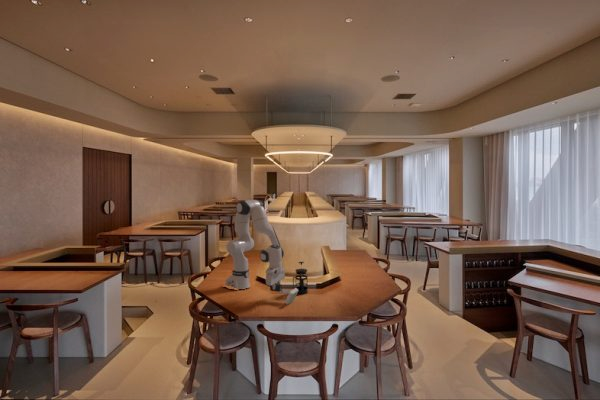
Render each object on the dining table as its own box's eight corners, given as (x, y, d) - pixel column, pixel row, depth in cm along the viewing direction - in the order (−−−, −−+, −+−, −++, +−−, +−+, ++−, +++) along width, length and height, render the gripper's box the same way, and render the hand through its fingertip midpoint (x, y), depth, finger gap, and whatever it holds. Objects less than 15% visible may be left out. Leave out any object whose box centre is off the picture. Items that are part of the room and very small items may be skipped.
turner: (269, 291, 216) (268, 285, 216) (273, 288, 221) (273, 283, 221) (288, 294, 209) (287, 288, 209) (292, 291, 215) (292, 285, 214)
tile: (284, 302, 209) (289, 291, 207) (290, 298, 217) (295, 287, 215) (287, 305, 208) (292, 294, 206) (293, 300, 216) (298, 290, 214)
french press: (307, 290, 238) (307, 260, 237) (309, 294, 228) (309, 263, 227) (292, 291, 236) (291, 261, 235) (294, 295, 226) (293, 264, 226)
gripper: (279, 264, 227) (279, 283, 227) (264, 271, 209) (264, 292, 209) (286, 265, 224) (287, 284, 225) (272, 272, 206) (272, 293, 206)
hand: (276, 288), depth 217 cm, fingers closed on turner, 3 cm apart
